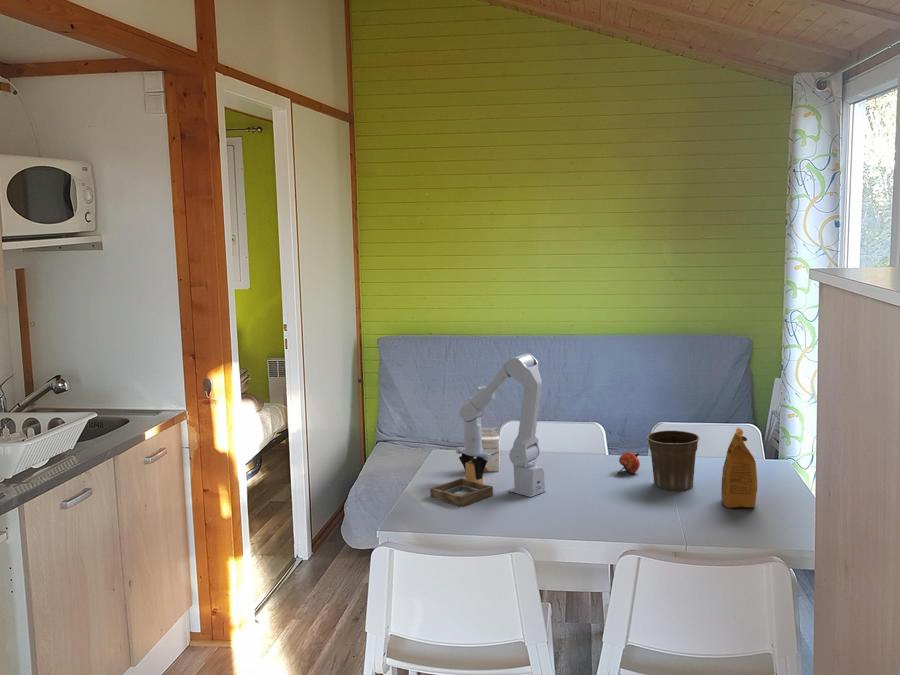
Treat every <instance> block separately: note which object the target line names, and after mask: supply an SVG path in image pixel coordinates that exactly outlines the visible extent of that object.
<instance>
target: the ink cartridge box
mask: <svg viewBox="0 0 900 675" xmlns="http://www.w3.org/2000/svg"><path fill="white" fill-rule="evenodd" d="M499 430H500V429H499V427H481V437H482V448H483V450H484V451H486V452H487V453H490V454H491V460H488V462H487V463H486V466H485V468H484V472H489V471H490V472H491V471H498V472H500V470H501V453H500V449H501V448H500V445H501V444H500V434H499ZM488 431H489V432H488ZM474 458H476V459H477V457H474Z"/></svg>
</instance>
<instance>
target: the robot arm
mask: <svg viewBox="0 0 900 675" xmlns="http://www.w3.org/2000/svg"><path fill="white" fill-rule="evenodd" d="M510 378H512V379H514V380H515V381H517V382H518V383H520V384H521V386H522V387H523V395H522V404H521V410H520V419H519V425H518V433H517V436H516V437H515V438H514V441H513V445H512V448H511V449H510V451H509V453H508V456H509V460H510V462H511V463H512V466H513V486H514V487H513V488H509V489H508V492H511V493H515V494H518V495H522V496H526V497H530V498H531V497H534V496H537V495H539V494H542V493H545V492H547V489H546V488H545V487H546V486H545V471H544V469H543V468H542V467H540V466H538V465H537V459H538V457H539V456H540V453H541V452H540V451H541V450H540V447H539V442H540V441H539V438H538V437H537V436H536V432H537V425H538V424H537V423H538V418H539V412H540V411H539V410H540V402H541V395H542V389H543V380H542V376H541V374H540V371H539V361H538V360H537V359H536V358H535V357H534V356H533V355H532V354H531V353H529V352H528V353H527V352H526V353H522V354H520V355H518V356H517V355H516V356H513V357H510V358H508V359H507V360H506V362H504V363H503V364H502V365H501V367H500V368H499V370H497V372H496V374H495V375H494V376H493V377H492V379H491V380H490V382H489V383H488V384H487V385H482V386H479V387H477V389H476V392H475V393H474V395H473V396H471V397H469V399H468V402H466V403H463V404H462V405H461V407H460V409H459V414H460V417H461V419H463V436H464V442H463V443H464V446H458V447H456V448H455V449H456V450H455V454H458V455H460V454H461V455H460V456H459V457H458V459H459V461H460V462H461V464H462V467H463V468H464V472H465V473H466V466H465V463H466V462H470V461H471V459H472V458H475V457H477V459H473V460H472V461H473V463H474V466H475V472H476V479H477V480H479V479H482V476H483V477H484V472H485V471H484V468H485V466H486V463H487V462H488V460H491V454H490V453H487V452H486V451H484V450H483V448H482V437H481V428H482V417H483V416H484V414H485V410H486V408H488V407H489V406H490V404H492V402H493V401H494V400H495V399H496V392H497V391H498V390H499V389H500V388H501V387H502V386H503V385H504V384H505V383H506V382H507V381H508V380H509V379H510Z"/></svg>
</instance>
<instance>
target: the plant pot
mask: <svg viewBox="0 0 900 675" xmlns="http://www.w3.org/2000/svg"><path fill="white" fill-rule="evenodd" d="M646 439H647V441H648V447H649V450H650V457H651V464H652V466H651V467H652V475H653V484H654V487H656V488H658V489H660V490H664V491H672V490H675V491H676V492H677V491H687V490H689V489H692V488H693V487H694V480H695V466H696V465H695V463H696V456H697V451H698V446H699V445H698V444H699V440H700V436H699V435H698V434H696V433H693V432H690V431H685V430H659V431H655V432H651V433H649V434H647V435H646Z"/></svg>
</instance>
